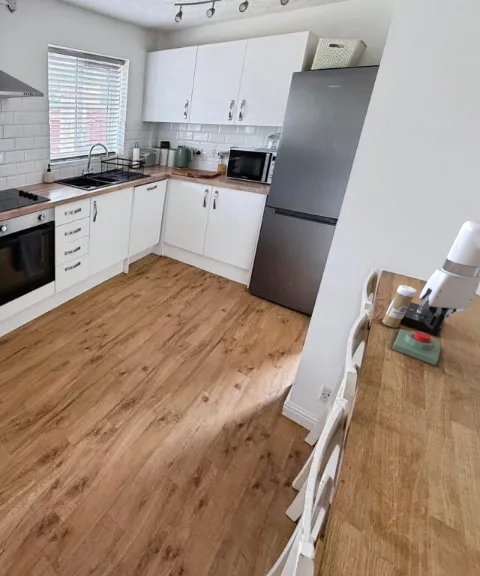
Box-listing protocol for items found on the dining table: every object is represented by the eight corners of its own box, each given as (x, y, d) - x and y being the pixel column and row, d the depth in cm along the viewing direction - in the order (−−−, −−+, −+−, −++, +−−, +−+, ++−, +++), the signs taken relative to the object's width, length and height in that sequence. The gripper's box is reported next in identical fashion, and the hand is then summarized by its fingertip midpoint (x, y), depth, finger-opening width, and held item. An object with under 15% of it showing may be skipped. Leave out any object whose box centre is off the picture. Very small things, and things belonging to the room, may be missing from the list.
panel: (436, 336, 115) (441, 328, 114) (398, 323, 121) (402, 315, 120) (440, 320, 124) (445, 312, 123) (404, 308, 130) (408, 300, 129)
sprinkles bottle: (390, 328, 118) (408, 291, 112) (378, 320, 122) (395, 284, 116) (402, 327, 119) (421, 291, 113) (389, 319, 123) (407, 284, 117)
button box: (435, 365, 102) (441, 355, 101) (392, 349, 108) (397, 339, 107) (438, 347, 110) (444, 337, 108) (398, 333, 116) (403, 323, 114)
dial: (432, 314, 122) (440, 298, 119) (430, 318, 119) (439, 303, 116) (417, 309, 124) (425, 294, 121) (415, 313, 121) (423, 298, 119)
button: (427, 345, 105) (430, 340, 105) (412, 339, 108) (414, 334, 107) (428, 339, 108) (431, 335, 107) (413, 334, 110) (416, 329, 109)
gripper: (481, 264, 99) (450, 322, 107) (421, 260, 101) (395, 317, 109) (505, 276, 93) (470, 336, 101) (441, 271, 94) (411, 331, 102)
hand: (431, 326), depth 105 cm, fingers closed
